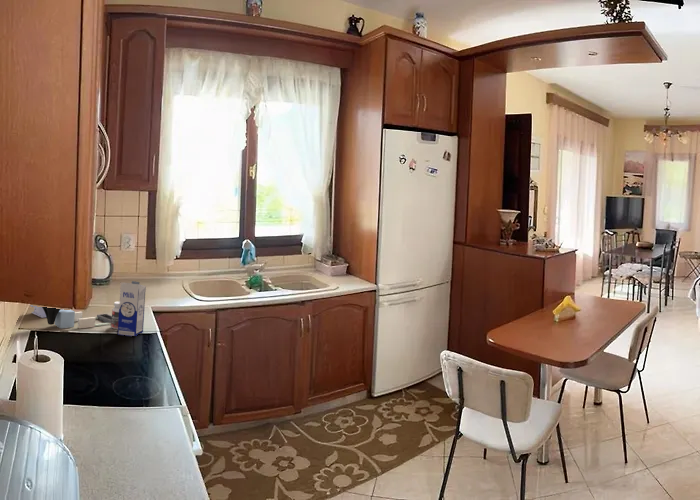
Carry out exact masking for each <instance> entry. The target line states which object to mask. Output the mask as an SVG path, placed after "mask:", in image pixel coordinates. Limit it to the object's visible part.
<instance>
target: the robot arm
mask: <svg viewBox="0 0 700 500" xmlns="http://www.w3.org/2000/svg"><path fill="white" fill-rule="evenodd" d="M29 307H31V308H33V311H31V314H33V315H35V316H37V317H39V318H41V319H42V318H46V321H47V325H50V326H52V325H55V319H56V316H57V314H58V312H59V311H60V310H61V309H56V308H47V307H37V306H33V305H30V304H29Z"/></svg>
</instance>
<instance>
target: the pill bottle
mask: <svg viewBox="0 0 700 500" xmlns="http://www.w3.org/2000/svg"><path fill="white" fill-rule="evenodd" d="M119 303H120V300H119V301H114V302H113V306H114V307H113V308H112V310H111V316H112V322H111V325H110V326H111V328H112V329H115V330H118V320H119Z"/></svg>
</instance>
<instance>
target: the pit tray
mask: <svg viewBox="0 0 700 500" xmlns="http://www.w3.org/2000/svg"><path fill="white" fill-rule="evenodd" d="M96 317H98V319H97V320H99V321H101V322H103V323H111V322H112V314H111V315H110V314H108V313H101V314H97V315H96Z"/></svg>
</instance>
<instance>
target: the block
mask: <svg viewBox="0 0 700 500" xmlns="http://www.w3.org/2000/svg"><path fill="white" fill-rule="evenodd" d="M64 309H65V308H63V309H60V311H59V312H58V314H57V316H56V319H55V322H54V326H55V325H56V326H57V328H59V329H67V328H69V329H70V328H74V327H75V322H74V318H75V312H76V311H74V310H72V309H70V310H64ZM56 326H55V327H56Z"/></svg>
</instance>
